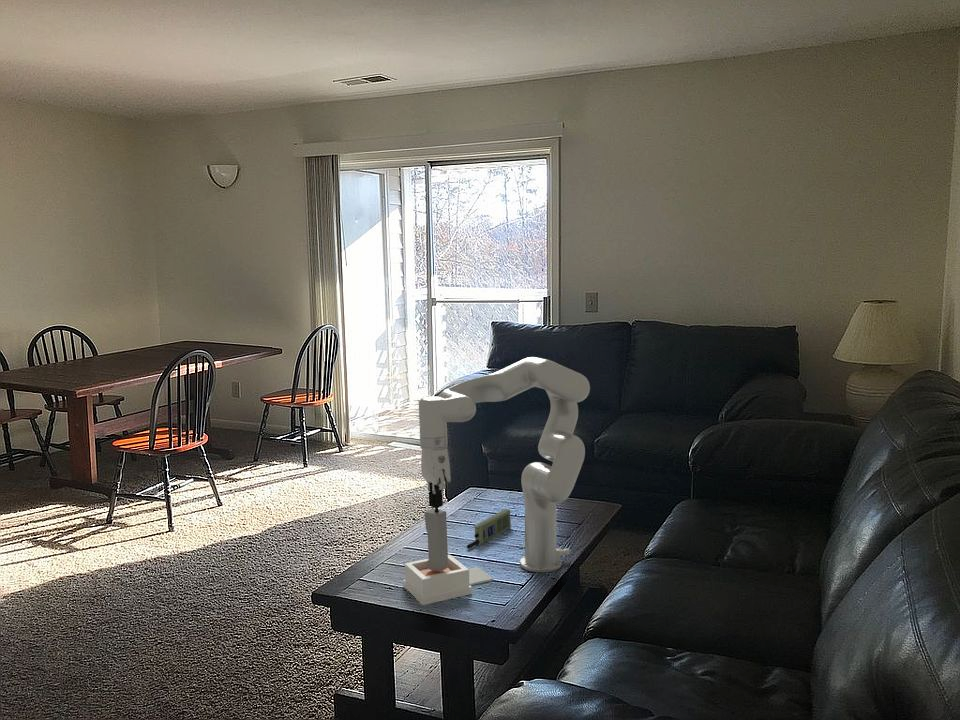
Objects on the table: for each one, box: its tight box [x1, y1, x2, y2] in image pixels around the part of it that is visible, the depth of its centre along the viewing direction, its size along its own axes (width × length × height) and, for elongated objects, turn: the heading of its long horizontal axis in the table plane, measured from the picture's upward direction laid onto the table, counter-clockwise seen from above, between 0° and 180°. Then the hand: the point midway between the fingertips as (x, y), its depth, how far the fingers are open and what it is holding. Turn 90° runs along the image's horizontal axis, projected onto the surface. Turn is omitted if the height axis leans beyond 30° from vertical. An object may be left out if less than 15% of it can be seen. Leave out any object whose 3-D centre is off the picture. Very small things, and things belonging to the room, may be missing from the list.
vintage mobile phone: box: [423, 507, 448, 572], centre depth 225 cm, size 4×5×25 cm
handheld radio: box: [466, 508, 512, 550], centre depth 267 cm, size 7×3×25 cm
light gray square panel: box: [468, 566, 494, 587], centre depth 235 cm, size 10×10×1 cm
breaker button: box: [419, 568, 451, 576], centre depth 226 cm, size 8×7×3 cm
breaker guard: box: [402, 553, 473, 606], centre depth 226 cm, size 15×14×7 cm
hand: (435, 505), depth 224 cm, fingers closed on vintage mobile phone, 1 cm apart
